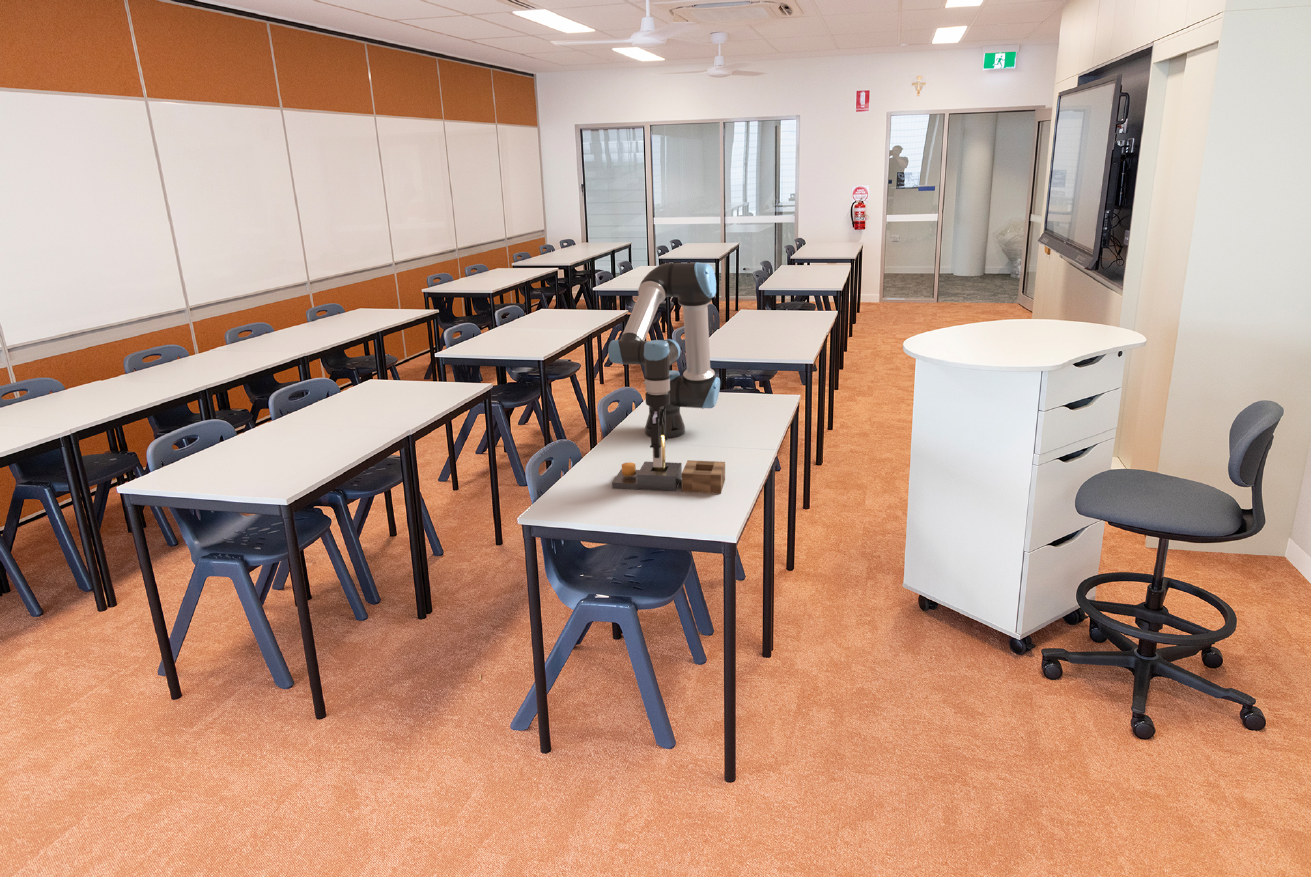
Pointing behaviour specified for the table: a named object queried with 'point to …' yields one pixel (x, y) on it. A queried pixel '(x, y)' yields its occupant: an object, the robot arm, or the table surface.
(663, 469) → the gold metal bar
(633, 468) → the release button
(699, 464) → the wooden peg hole block
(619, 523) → the table surface
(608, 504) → the table surface
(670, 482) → the socket
